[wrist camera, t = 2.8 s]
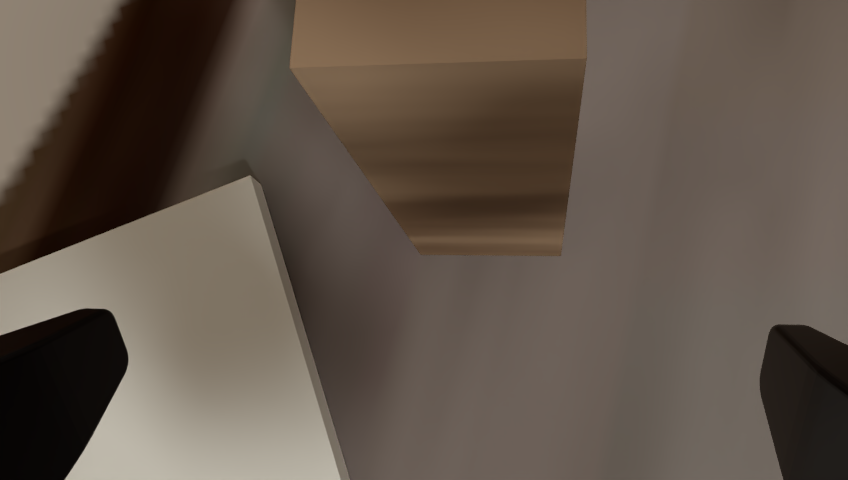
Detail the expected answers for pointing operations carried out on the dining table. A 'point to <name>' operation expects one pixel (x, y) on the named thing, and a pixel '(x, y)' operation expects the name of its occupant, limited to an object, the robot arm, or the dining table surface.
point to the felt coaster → (193, 345)
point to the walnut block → (453, 112)
